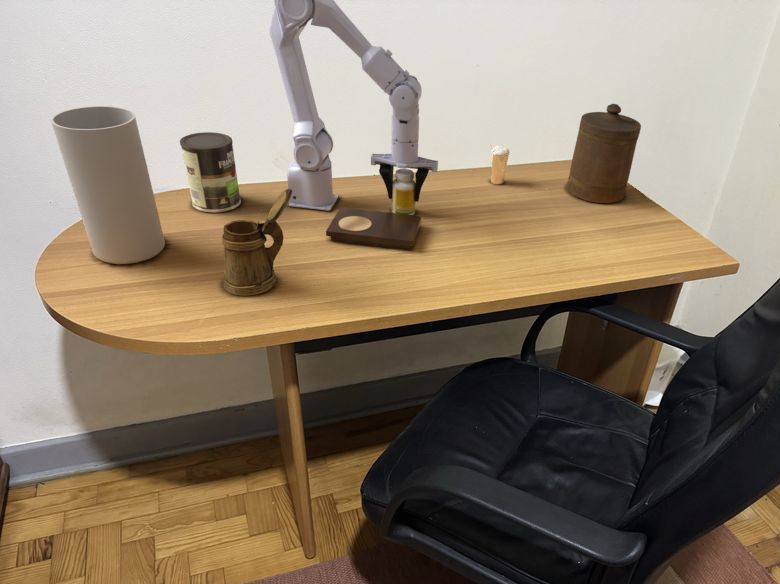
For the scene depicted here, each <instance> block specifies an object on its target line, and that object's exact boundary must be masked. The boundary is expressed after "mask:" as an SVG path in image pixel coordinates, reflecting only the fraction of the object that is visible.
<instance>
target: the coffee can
mask: <svg viewBox="0 0 780 584" xmlns="http://www.w3.org/2000/svg"><path fill="white" fill-rule="evenodd" d="M233 144H234V143H233V138H232V137H231V136H230V135H227V134H224V133H220V132H214V131H213V132H211V131H207V132H205V131H204V132H195V133H190V134H187V135H185V136H182V137H180V139H179V145H180V147H181V151H182V157H183V163H184V168H185V172H186V178H187V183H188V188H189V192H190V198H191V205H192V207H193V208H194V209H195V210H197V211H200V212H204V213H224V212H229V211H232V210H234V209H236V208H238V207H239V206H240V205H241V203H242V200H241V194H240V187H239V181H238V175H237V168H236V160H235V153H234V146H233Z"/></svg>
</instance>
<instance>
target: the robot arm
mask: <svg viewBox="0 0 780 584" xmlns="http://www.w3.org/2000/svg"><path fill="white" fill-rule="evenodd" d="M273 3H274V9H273V13H272V18H271V22H270V26H269V35H270V38H271V43H272V46H273V49H274V54H275V56H276V57H275V58H276V61H277V64H278V67H279V68H278V69H279V71H280V75H281V78H282V82H283V86H284V90H285V93H286V97H287V101H288V104H289V107H290V112H291V115H292V119H293V122H294V127H293V134H292V140H293V143H294V148H293V158H294V161H291V162H290V163H289V165H288V167H287V174H286V175H287V189H291V190H292V191H293V192H292V195H291V198H290V200H289V202H288V206H289V207H293V208H300V209H308V210H310V209H311V210H319V211H327V212H329V211H331V210H332V208H333V207H334V205H335V203H336V202H337V200H339V195H338V194H334V188H333V187H334V186H333V169H332V167H333V166H332V161H331V158H330V154H331V152H332V151H333V149H334V140H333V137H332V136H331V135H330V133H329V132H328V130H327V128H326V124H325V121H324V120H322V118H321V117H320V116H319V113H318V108H317V104H316V100H315V96H314V92H313V89H312V85H311V80H310V76H309V73H308V69H307V65H306V60H305V57H304V53H303V48H302V44H301V40H300V35H301V34H302V32H303V31H304V29H305V27H306V26H307V24H308V23H309V22H310V21H311V22H310V26H315V27H320V28H326V29H329V30H330V31H331V32H332V33H334V35H335V36H336V37H338V38H339V40H341V42H343V43H344V44H345V45H346V46H347V47H348V48H349V49H350V50H351V51H352V52H353V53H354V54H355V55H356V56H357V57H358V58H359V59H360V62H361V68H362V70H363V71H364V72H365V73H366V74H367V75H368V77H370V79H371V80H372V81H373V82H374V83H375V84H376V85H377V86H378V87H379V88H380V89H381V90H382V91H383V92H384V93H385V94H387V95H388V100H389V101H388V102H389V103H390V106H391V107H392V115H391V148H390V149H391V153H372V154H371V155H370V166H377V165H379V169H378V173H379V175H380V176H381V178H382V181H383V182H384V185H385V188H386V192H387V197H388V199H389V200H392V183H393V181H394V171H395V169H394V168H398V169H411V170H412V169H414V170H416V172H415V173H414V178H415V183H416V191H415V202H416V203H418V202H419V200H420V196H421V190H422V188H423V185H424V183H425V181H426V179H427V177H428V175H429V172H432V173H438V170H439V160H434V159H430V158H427V157H422V156H419V138H420V137H419V135H420V104H419V101H420V100H421V98H422V93H423V89H422V86H421V83H420V82H419V80H418V78H417V76H415V75H412V74H410V72H409V71H408V70H407V69H405V70H404V69H403V68H402V67H401V66H400V64H398V63H397V61H396V60H395V59H394V58H393V57H392V56H393V53H392V51H391V50H390V49H388V48H387V49H386V50H385V48H384V47H383V46H376V45H375V46H374V45H373V44H371V43H370V42H369V40H368V39H367V37H366V36H365V35H364V34H363V33H362V32H361V30H359V29H358V27H357V26H356V25H355V24H354V23H353V21H352V20H351V19H350V18H349V17H348V16H347V14H346V13H345V12H344V11H343V10H342V9H341V8H340V6H339V5H338V4H337V2H336V1H335V0H273Z"/></svg>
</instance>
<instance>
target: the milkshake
mask: <svg viewBox="0 0 780 584" xmlns="http://www.w3.org/2000/svg"><path fill="white" fill-rule="evenodd" d="M489 145H490V146H489V147H490V149H491V157H490V159H491V164H490V182H491V183H492V184H493V185H502V184H504V181H505V177H506V171H507V166H508V161H509V157H510V150H509V149H508V147H506V146H503V145H495V146H494V147H492V144H489Z"/></svg>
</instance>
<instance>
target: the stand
mask: <svg viewBox="0 0 780 584" xmlns="http://www.w3.org/2000/svg"><path fill="white" fill-rule="evenodd" d="M422 220H423V217H422V215H417V214H416V215H415V214H413V215H408V214H399V213H393V212H389V211H380V210H371V209H365V208H364V209H362V208H356V207H355V208H353V207H347V206H346V207H345V206H340V207H339V209H338V211H337V212H336V214H335V216H334V217H333V218H332V220H331V221H330V224H329V225H328V227H327V228H326V231H325V235H326V237H330V242H331V241H332V242H338V243H347V244H357V245H364V246H365V245H366V246H373V247H374V246H375V247H382V248H389V249H399V250H407V251H410V250H411V248H412V247H414V244H415V241H416V238H417V235H418V233H419V230H420V227H421V224H422V222H423V221H422Z"/></svg>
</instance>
